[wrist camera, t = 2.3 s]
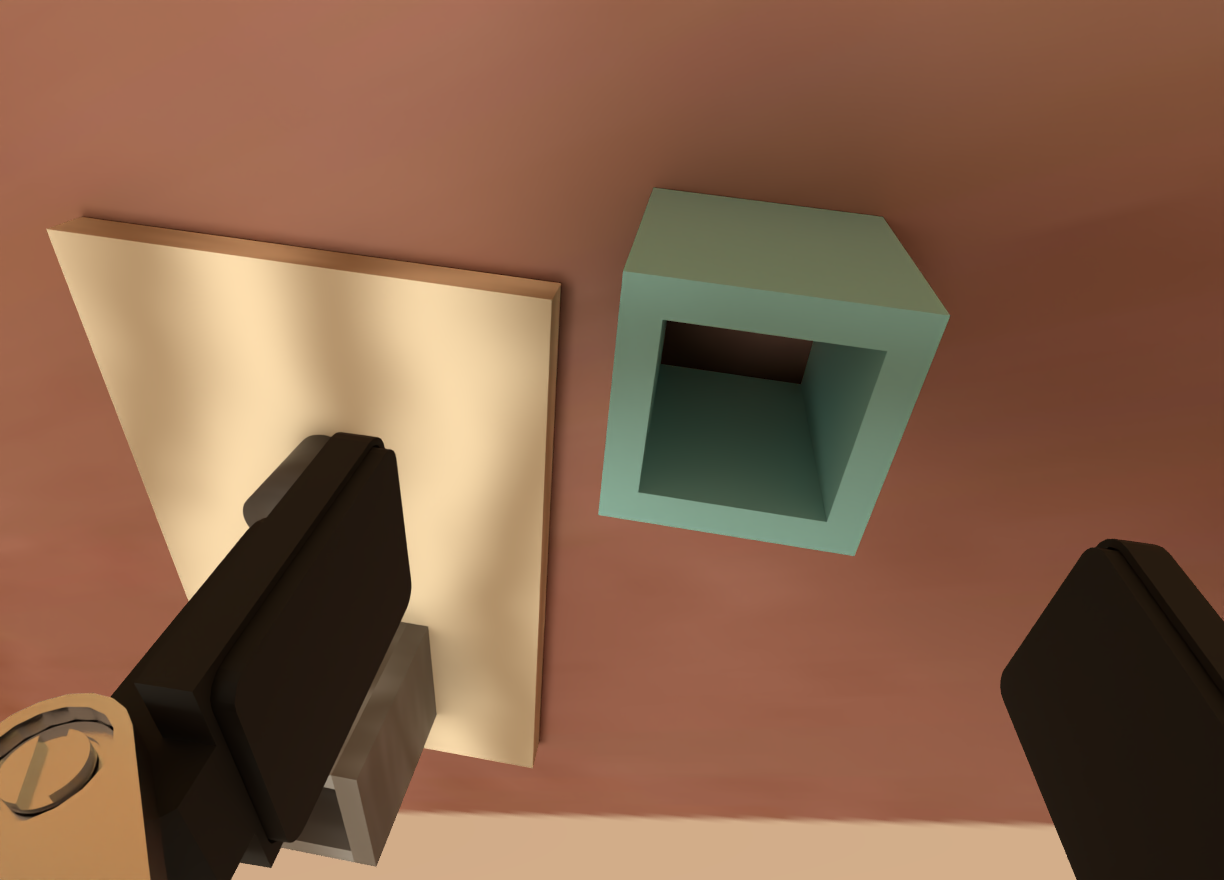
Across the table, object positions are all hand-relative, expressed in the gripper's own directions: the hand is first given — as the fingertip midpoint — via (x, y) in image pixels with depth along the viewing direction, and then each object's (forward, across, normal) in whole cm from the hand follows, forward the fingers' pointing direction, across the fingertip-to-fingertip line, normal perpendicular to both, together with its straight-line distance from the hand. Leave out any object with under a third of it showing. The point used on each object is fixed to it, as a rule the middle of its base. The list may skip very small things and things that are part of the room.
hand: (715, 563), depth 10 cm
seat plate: (+10, +11, +12) cm, 19 cm away
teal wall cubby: (+10, -1, 0) cm, 10 cm away
